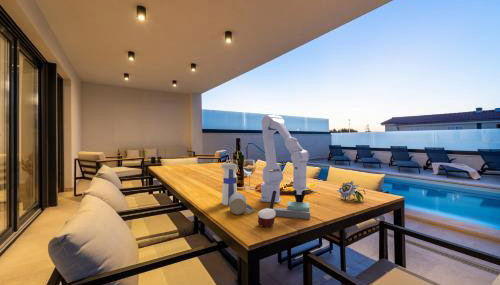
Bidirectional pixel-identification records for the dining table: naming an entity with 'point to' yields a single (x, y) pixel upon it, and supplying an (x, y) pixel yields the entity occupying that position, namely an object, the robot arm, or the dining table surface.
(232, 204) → the ceramic mug
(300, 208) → the block
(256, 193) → the dining table surface
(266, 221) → the cocoa
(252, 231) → the dining table surface
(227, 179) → the water bottle
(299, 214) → the gray bar
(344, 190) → the passion flower
